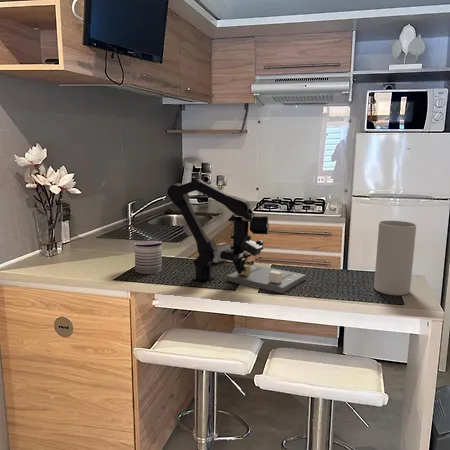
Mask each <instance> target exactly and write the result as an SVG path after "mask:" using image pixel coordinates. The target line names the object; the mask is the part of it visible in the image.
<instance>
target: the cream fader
mask: <svg viewBox="0 0 450 450" xmlns="http://www.w3.org/2000/svg"><path fill="white" fill-rule="evenodd" d="M282 273H283V272H279V271H274V270H272V271H270V272H269V281H270V282H274V283H280V282H282Z"/></svg>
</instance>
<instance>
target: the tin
mask: <svg viewBox="0 0 450 450" xmlns="http://www.w3.org/2000/svg"><path fill="white" fill-rule="evenodd" d="M215 244H216V245H217V246H218V248H217V249H218V253H217V256H216V257H215V258H214V259H213V260H212V262H211V263H212V264H219V263H222V262H223V263H224V262H226V261H227V260H226V259H221V258H220V253H221V252H222V251H224V250H227V249H229V250H233V249H231V246H233V244H231V243H230V242H227V241H221V242H218V243H215Z"/></svg>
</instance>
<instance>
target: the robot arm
mask: <svg viewBox="0 0 450 450" xmlns="http://www.w3.org/2000/svg"><path fill="white" fill-rule="evenodd" d="M195 191H197V192H199V193H200V194H203V195H204V196H206V197H208V198H210V199H212V200H213V201H216V202H218V203H220V204H222V205H223V206H224V207H225V208H227V209H228V210H229V211H230V212H231V213H232V215H231V216H230V217H229V218H228V219H227V221H228V222H232V223H233V224H232V225H233V227H232V235H230V239H232V246H231V249H232V250H229V249H227V250H224V251H222V252H221V253H220V258H221V259H226V261H232V263H233V265H234V268H235V269H236V272H238V273H239V274H240V273H242V270H243V267H244V264H245V263H246V262H247V259H249V258H251V257H256V256H257V255H260V254H261V252H262V250H264V242H263V240H261V239H258V240H257V241H256V240H252V236H251V235H249V232H250V233H252V234H254V235H269V230H270V229H269V228H270V224H269V215H263V216H262V215H255V213H254V212H253V210H252V209H251V205H250V201H248V200H247V199H245V198H242V197H239V196H235V195H231V194H229V193H226V192H224V191H222V190H221V189H219V188H216V187H215V186H213V185H211V184H209V183H207V182H205V181H204V180H202V179H200V178H197V179H194V180H192V181H189V182H187V183H184V184H182V183H176V184H175V183H174V184H171V185H170V186H169V187H168V188H167V192H166V195H167V196H168V198H169V199H170V200H171V202H172V204H173V205H175V206H176V207H177V208H178V209H179V212H180V213H181V214H182V217H183V219H184V220H185V223H186V225H187V226H188V229H189V230H190V232H191V234H192V236H193V238H194V240H195V242H196V249H197V253H198V256H197V257H196V258H195V259H194V260H193V264H194V266H195V271H194V273H195V274H194V275H195V276H194V277H193V278H191V279H192V281H197V282H201V283H207V282H210V281H212V280H215V278H216V277H214V276H213V275H212V273H213V266H212V264H213V263H212V260H213V259H214V258H215V257H216V256H217V253H218V249H217V248H218V246H217V245H216V244H217V243H216V241H215V239H214V237H213V238H211V239H210V238H209V237H208V236H207V234H206V233H205V231H204V228H203V227H202V225H201V223H200V221H199V219H198V217H197V215H196V213H195V211H194V209H193V207H192V205H191V203H190V196H189V194H190V193H193V192H195ZM245 265H246V264H245Z"/></svg>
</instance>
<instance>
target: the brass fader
mask: <svg viewBox="0 0 450 450" xmlns="http://www.w3.org/2000/svg"><path fill="white" fill-rule="evenodd" d="M250 266H251V265H249V264H244V267H243V270H242V273H240V274H239V273H238V272H237V271H236V272H237V274H238V275H243V276H248V275H250Z"/></svg>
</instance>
